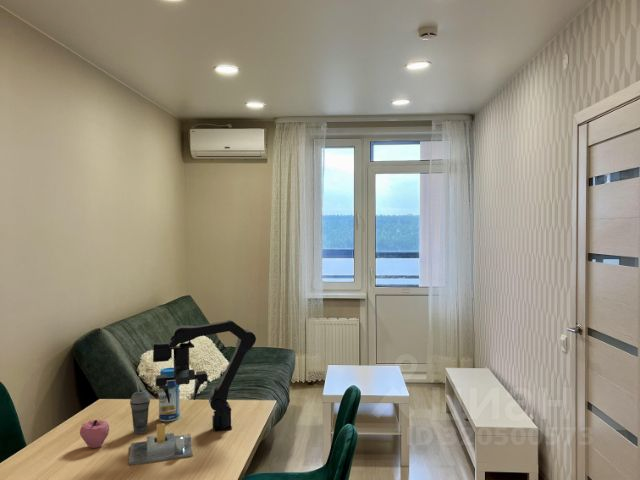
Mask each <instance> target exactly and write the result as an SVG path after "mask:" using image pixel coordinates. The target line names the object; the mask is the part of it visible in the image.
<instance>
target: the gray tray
mask: <svg viewBox="0 0 640 480" xmlns="http://www.w3.org/2000/svg"><path fill="white" fill-rule="evenodd" d="M187 457H193V448H192V436H191V433H188V434H179V435H175V434H174V432H171V433H165V441H163V442H157V434H155V435H148V436H146V440H145V441H138V442H131V443H130V449H129V457H128V465H129V466H134V465H140V464H142V465H143V464H147V463H155V462H162V461H168V460H175V459H182V458H187Z"/></svg>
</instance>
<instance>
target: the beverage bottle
mask: <svg viewBox="0 0 640 480" xmlns="http://www.w3.org/2000/svg"><path fill="white" fill-rule="evenodd" d="M159 371H160V373H159V375H166V376H167V377H174V367H165V368H162V369H160V370H159ZM167 384H168V391H169V397H170V403H169V402H168V399H167V397H166V394H165V392H164V390H163V388H159V387H158V389H159V390H158V393H157V394H158V419H159V421H162V422H173V421H176V420H178V419H179V418H180V416H181V415H180V414H181V412H180V410H181V409H180V406H181V405H180V394H181V390H180V386H181V385H176V382H167Z"/></svg>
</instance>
